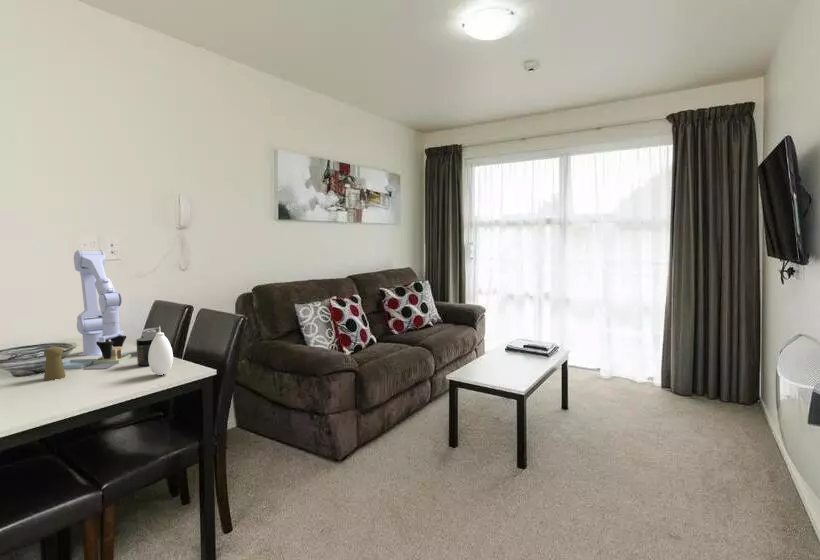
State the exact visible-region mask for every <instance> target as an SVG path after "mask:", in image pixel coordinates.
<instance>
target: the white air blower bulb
mask: <svg viewBox="0 0 820 560" xmlns="http://www.w3.org/2000/svg"><path fill="white" fill-rule="evenodd" d="M173 352H174V351H173V348H172V346H171V341H170V340H169V339H168V338H167V337H166V336H165V333H164V332H162V331H161V325H159V333H156V336H155V338H154V339H153V341H152V343H151V346H150V349H149V354H148V362H149V366H148V367H149V368H150V370H151V372H152V373H154V374H155V375H157V376H159V375H162V376H164V375H167V373H168V372H170V371H171V368H172V366H173V364H174V354H173ZM163 374H164V375H163Z"/></svg>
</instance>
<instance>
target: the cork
mask: <svg viewBox="0 0 820 560" xmlns="http://www.w3.org/2000/svg"><path fill="white" fill-rule="evenodd" d="M63 353H64V350H63V348H62V347H61V346H49V347H46V348H45V349H44V351H43V355H44V356H45V365H44V374H43V381H46V380H52V381H56V380H55V379H59V380H61V378H63V379H65V378H66V377H65V376H66V372H65V369H64V366H63V362H64V361H63V358H62V355H63ZM64 377H65V378H64Z"/></svg>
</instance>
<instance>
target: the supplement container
mask: <svg viewBox="0 0 820 560" xmlns="http://www.w3.org/2000/svg"><path fill="white" fill-rule="evenodd" d="M154 338H155V337H146V338H144V337H140V338H136V360H137V361H136V364H137V367H141V368H146V367H147V368H148V367H150V366H149V362H148V354H149V349H150V346H151V343H152V341H153V339H154Z"/></svg>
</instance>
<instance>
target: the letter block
mask: <svg viewBox="0 0 820 560" xmlns="http://www.w3.org/2000/svg"><path fill="white" fill-rule="evenodd" d="M122 355H123V346H122V347H113V346H112V350H111V358H110V359H104V357H103V354H101V357H102V360H119V359H121V358H123V356H122Z"/></svg>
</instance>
